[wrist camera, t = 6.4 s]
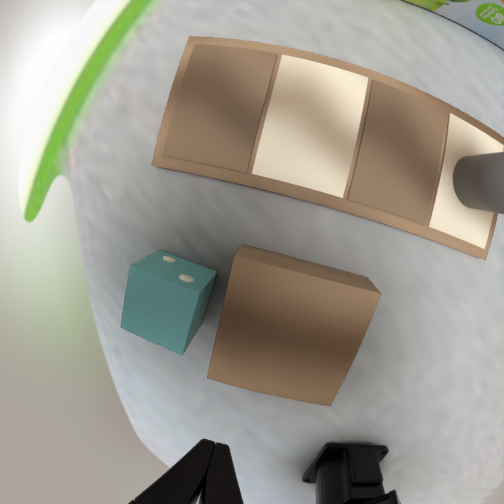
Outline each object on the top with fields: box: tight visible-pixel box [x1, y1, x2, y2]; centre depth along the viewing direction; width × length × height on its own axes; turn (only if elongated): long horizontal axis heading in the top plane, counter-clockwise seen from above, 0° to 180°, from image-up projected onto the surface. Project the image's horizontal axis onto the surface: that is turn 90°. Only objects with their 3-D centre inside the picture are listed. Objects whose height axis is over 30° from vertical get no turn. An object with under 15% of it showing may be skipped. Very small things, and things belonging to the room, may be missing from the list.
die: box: [121, 250, 217, 355], centre depth 17 cm, size 4×4×4 cm
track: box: [151, 36, 504, 260], centre depth 15 cm, size 9×23×1 cm, turn 76°
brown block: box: [207, 245, 381, 406], centre depth 17 cm, size 8×8×3 cm
